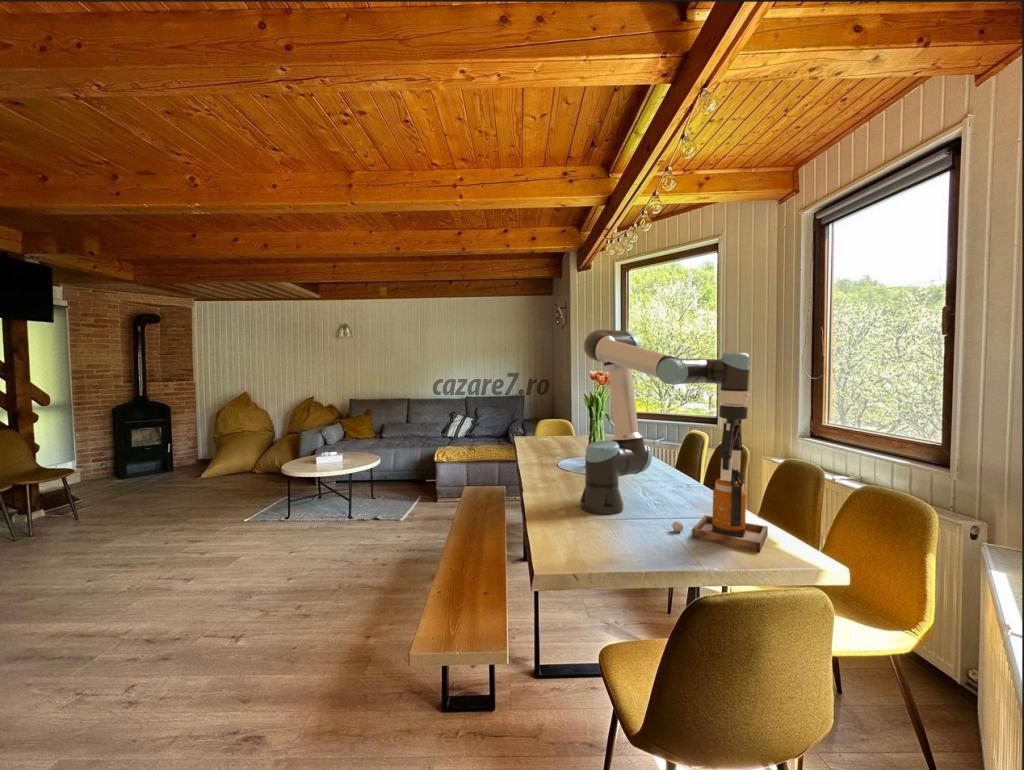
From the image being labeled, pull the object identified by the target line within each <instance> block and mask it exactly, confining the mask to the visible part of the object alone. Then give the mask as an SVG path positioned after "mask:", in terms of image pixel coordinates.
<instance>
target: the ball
mask: <svg viewBox="0 0 1024 770" xmlns="http://www.w3.org/2000/svg"><path fill="white" fill-rule="evenodd" d="M671 527H672V529H673V531H675V532H677V533H679V532H680V533H681V532H682V531H683V529H684V525H683V522H681V521H679V520H675V521H674V522H672V526H671Z"/></svg>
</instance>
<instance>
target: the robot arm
mask: <svg viewBox="0 0 1024 770" xmlns="http://www.w3.org/2000/svg"><path fill="white" fill-rule="evenodd" d="M583 351H584V353H585V356H587V357H588V358H589V359H590V360H592V361H596V362H599V363H603V368H604V369H605V370H606V371H607V372H608V379H609V389H610V399H611V407H612V418H613V428H614V436H612V437H611V440H599V441H593V442H591V443H589V444H588V445H586V448H585V455H584V457H585V458H584V459H585V463H584V464H585V465H584V466H585V473H584V474H585V476H584V477H585V478H584V479H585V481H584V482H585V484H584V485H585V486H584V489H583V491H582V495H581V497H580V502H579V507H580V509H581V510H583V511H584V512H587V513H590V514H596V515H597V514H598V515H614V514H619V513H621V512H622V511H624V502H623V501H624V500H623V498H622V495H621V492H620V488H619V477H623V476H624V477H625V476H629V475H638V474H640V473H642V472H645V471H646V470H648V468H649V467H650V465H651V463H652V460H653V459H652V458H653V453H652V450H651V447H650V446H649V445H648V443H646V442H645V440H644V436H643V435H641V433H640V432H639V425H638V424H639V423H638V417H637V407H636V398H635V397H636V396H635V390H634V380H633V371H632V370H634V371H637V372H639V373H642V374H646V375H649V376H652V377H655V378H658V379H660V381H661V382H662V383H664V384H668V385H682V384H683V385H686V384H713V385H716V384H717V385H720V390H719V403H720V404H721V405H719V411H718V412H719V413H718V415H719V417H720V418H721V419H726V422H724V423H723V429H722V430H723V431H722V437H721V445H720V452H719V454H718V455H717V456H718V458H720V459H721V460H720V477H719V478H720V480H724V481H731V471H732V468H733V469H735V470H737V469H738V471H739V473H740V471H741V452H743V451H744V450H745V449H744V447H743V442H742V441H743V438H742V420H747V419H748V409H749V408H748V406H746V405H748V402H749V400H748V399H750V398H751V394H749V383H750V382H749V381H750V380H749V378H750V370H751V367H750V366H751V365H750V355H749V354H748V353H747V352H723V353H722V355H721V358H719V359H715V358H714V359H713V358H679V357H676V356H672V355H669V354H665V353H661V352H658V351H655V350H651V349H646V348H643V347H641V346H640V342H639V339H638V338H637V336H636V335H635V334H633V333H632V332H630V331H626V330H621V329H619V330H614V329H613V330H611V329H597V330H593V331H591V332H590V333H589V334H587V336H586V337H585V339H584V341H583Z"/></svg>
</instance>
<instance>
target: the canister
mask: <svg viewBox="0 0 1024 770" xmlns="http://www.w3.org/2000/svg"><path fill="white" fill-rule="evenodd" d="M744 482H746V480H745V479H742V476H741V474H740V472H739V471H738V469H737V470H735V469H733V468H732V471H731V481H724V480H720V477H719V478H717V479H716V481H715V482H714V483H715V487H714V488H713V489H712V517H713V520H712V523H713V525H712V529H713V531H715V532H717V533H719V534H724V535H729V536H734V537H738V536H742V535H744V534H745V523H746V515H747V513H746V509H747V508H746V507H747V492H746V491H745V484H744Z"/></svg>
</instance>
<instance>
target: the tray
mask: <svg viewBox="0 0 1024 770" xmlns="http://www.w3.org/2000/svg"><path fill="white" fill-rule="evenodd" d="M712 520H713V515H712V516H711V515H706V514H705V515H704V516H703V517H702V518H701V519H700V520H699V521H698V523H697V524H696V525H694V527H693V528H692V529H691V538H692V539H694V538H695V539H696V540H699V539H701V540H700V541H704V540H705V541H704V542H709V541H710V543H713V542H715V543H714V544H718V543H719V545H724V546H729V547H732V546H733V548H737V549H742V550H747V549H748V550H747V551H751V550H752V552H756V551H757V553H760V552H761V551H762V548H763V547H764V544H765V541H766V540H765V539H767V538H768V533H769V531H768V529H769V527H768V526H767V525H761V524H757V523H751V522H745V534H744V535H742V536H738V537H734V536H729V535H724V534H719V533H717V532H715V531H713V529H712V525H713V523H712ZM695 539H694V540H695Z"/></svg>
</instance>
